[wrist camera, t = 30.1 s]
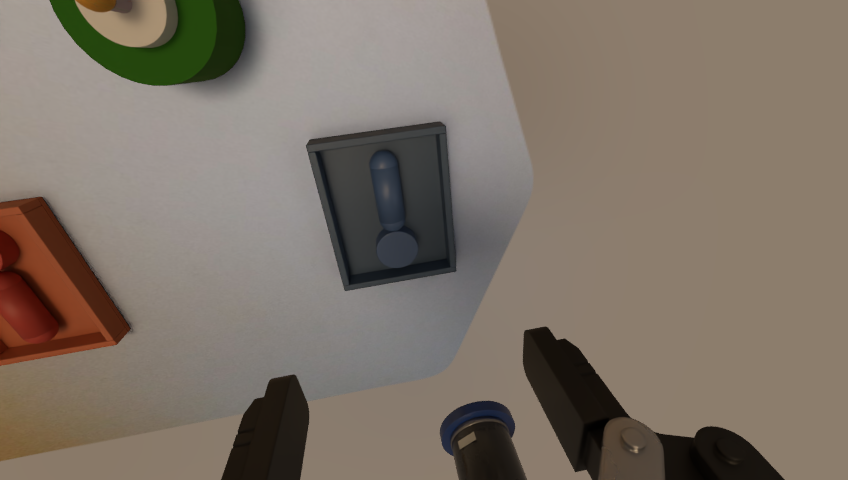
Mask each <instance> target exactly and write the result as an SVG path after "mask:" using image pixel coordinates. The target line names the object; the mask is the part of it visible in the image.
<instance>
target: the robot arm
mask: <svg viewBox="0 0 848 480" xmlns="http://www.w3.org/2000/svg"><path fill="white" fill-rule="evenodd" d="M523 346H524V347H523V365H524V370H525V373H526V376H527V378H528V380H529V382H530V384H531V386H532V388H533V390H534V392H535V394H536V396H537V398H538V400H539V402H540V403H541V406H542V408H543V410H544V412H545V414H546V416H547V418H548V419H549V421H550V423H551V425H552V427H553V429H554V431H555V433H556V435H557V437H558V439H559V441H560V443H561V445H562V447H563V449H564V451H565V453H566V455H567V457H568V459H569V461H570V463H571V465H572V466H573V469H574V471H575V472H578V471H582V470H587V471H588V473H589V474H590V476H591V478H592V480H784V479H783V478H782V476H781V475H780V474H779V473H778V472H777V471H776V470H775V469H774V468H773V467H772V466H771V465H770V464H769V463H768V461H767V460H766V459H765V458H764V457H763V456H762V455H761V454H760V453H759V452H758V451H757V450H756V449H755V448H754V447H753V446H752V445H751V444H750V443H749V442H748V441H746V440H745V439H744V438H742V437H741V436H739V435H737V434H735V433H734V432H731V431H729V430H726V429H723V428H719V427H712V426H711V427H704V428H702V429H700V430H699V431H698V432H697V433H696V435H695V438H691V437H681V436H673V435H665V434H659V433H655V432H653V431H652V430H651V429H650V428H649V427H647V426H646V425H644V424H643V423H641V422H639V421H637V420H634V419H632V418H630V416H629V415H628V414H627V413H626V412H625V410H624V409H623V408H622V406H621V405H620V404H619V402H618V401H617V400H616V398H615V397H614V396H613V395H612V393H611V392H610V390H609V389H608V388H607V386H606V385H605V383H604V382H603V381H602V379H601V378H600V377H599V375H598V374H596V372H595V370H594V369H593V367H592V366H591V365H590V363H588V361H587V359H586V358H585V357H584V355H583V354H582V352H581V351H580V350H579V348H577V347H576V346H574V345H573V344H572V343H570V342H569V341H567V340H566V339H560V340H556V339H555V337H554V336H553V334H552V333H551V331H550V330H549V329H548V328H547V327H540V328H535V329H530V330H525V332H524V345H523ZM308 425H309V408H308V404H307V401H306V398H305V396H304V394H303V391H302V389H301V386H300V384H299V381H298V379H297V377H296V375H288V376H283V377H278V378H273V379H271V380H270V381H269V383H268V386H267V389H266V393H265V396H264V397H263V398H257V399H255V400H254V401H253V402H252V404H251V405H250V406H249V408H248V409H247V411H246V412H245V413H244V415H243V418H242V421H241V424H240V427H239V429H238V434H237V435H236V438H235V441H234V444H233V449H232V450H231V453H230V456H229V458H228V461H227V464H226V467H225V470H224V473H223V476H222V479H221V480H300V477H301V470H302V464H303V457H304V450H305V443H306V438H307V431H308ZM450 445H451V449H452V451H453V455H454V459H455V464H456V469H457V473H458V477H459V480H527V478H526V476H525V473H524V471H523V468H522V465H521V463H520V460H519V458H518V455H517V453H516V450H515V447H514V444H513V442H512V439H511V437H510V434H509V430H508V427H507V425H506V423H505V422H504V421H503V420H502V419H500V418H497V417H494V416H480V417H476V418H472V419H470V420H467V421H465V422H464V423H462V424H461V425H459V426H458V427H457V428H456V429H455V430H454V431H453V433H452V434H451V437H450Z"/></svg>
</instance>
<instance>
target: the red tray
mask: <svg viewBox="0 0 848 480" xmlns="http://www.w3.org/2000/svg"><path fill="white" fill-rule="evenodd" d="M0 230H2V231H3V232H5V233H6V234H8V235H9V236H10V237H11V238H12V239H13V240H14V241H15V242H16V244H17V245H18V248H19V252H20V253H19V258H18V259H17V261H16V262H14V263H13V264H11V265H10V266H8V267H6V268H4V269H3V270H1V271H10V272H14V273H16V274H18V275H20V276H21V277H22V278H23V280H24V281H25V282H26V283H27V285H28V286H29V287H30V288H31V290H32V291H33V292H34V293H35V295H36V296H37V297H38V298H39V300H40V301H41V302H42V303H43V305H44V306H45V307H46V309H47V310H48V311H49V312H50V314H51V315H52V316H53V317H54V319H55V320H56V321H57V322H58V324H59V331H58V333H57V334H56V336H55V337H53V338H52V339H51V340H49V341H47V342H44V343H38V344H34V343H28V342H26V341H24V340H23V339H22V338H21V337H20V336H19V335H18V333H17V332H16V331H15V330H14V329H13V328H12V327H11V326H10V324H9V323H8V322H7V321H6V320H5V319H4V318H3V317H2V315H1V314H0V366H1V365H6V364H12V363H18V362H23V361H29V360H34V359H40V358H45V357H51V356H57V355H62V354H68V353H73V352H79V351H84V350H90V349H96V348H101V347H107V346H112V345H117V344H118V343H119V342H120V341H121V339H122V338H123V337H124V336H125V335H126V334H127V333H128V331H129V330H130V327H129V326H128V325H127V323H126V322H125V320H124V319H123V317H122V316H121V314H120V313H119V311H118V310H117V308H116V307H115V305H114V304H113V302H112V301H111V299H110V298H109V296H108V295H107V293H106V292H105V290H104V289H103V287H102V286H101V284H100V283H99V281H98V280H97V279H96V277H95V276H94V274H93V273H92V271H91V270H90V268H89V267H88V265H87V264H86V262H85V261H84V259H83V258H82V256H81V255H80V253H79V252H78V250H77V249H76V247H75V246H74V244H73V243H72V241H71V240H70V238H69V237H68V235H67V234H66V233H65V231H64V230H63V228H62V227H61V225H60V224H59V222H58V221H57V219H56V218H55V216H54V215H53V213H52V212H51V210H50V209H49V207H48V206H47V204H46V203H45V201H44V200H43V198H42V197H36V198H29V199H22V200H15V201H8V202H1V203H0Z"/></svg>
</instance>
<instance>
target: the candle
mask: <svg viewBox="0 0 848 480" xmlns="http://www.w3.org/2000/svg"><path fill="white" fill-rule="evenodd" d="M50 2H51V5H52V7H53V10H54V12H55V14H56V15H57V17H58V19H59V20H60V22H61V24H62V25H63V27H64V29H65V30H66V31H67V32H68V34H69V35H70V36H71V37H72V39H73V40H74V41H75V42H76V44H77V45H78V46H79V47H80V48H81V49H83V50H84V51H85V52H86V53H87V54H88V55H89V56H90V57H91V58H92V59H94V60H95V61H96V62H98V63H99V64H100V65H102V66H103V67H105V68H106V69H108V70H110V71H111V72H113V73H115V74H117V75H119V76H121V77H123V78H126V79H129V80H131V81H134V82H137V83H142V84H147V85H153V86H167V85H175V84H183V83H191V82H199V81H206V80H211V79H215V78H217V77H219V76H221V75H223V74H225V73H226V72H227V71H229V70H230V69H231V68H232V67H233V66H234V65H235V63H236V62H237V61H238V59H239V57H240V55H241V52H242V50H243V46H244V41H245V21H244V16H243V11H242V8H241V5H240V3H239V0H50Z"/></svg>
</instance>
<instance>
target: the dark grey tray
mask: <svg viewBox="0 0 848 480" xmlns="http://www.w3.org/2000/svg"><path fill="white" fill-rule="evenodd" d="M306 148H307V151H308V155H309V159H310V163H311V166H312V170H313V174H314V178H315V181H316V185H317V189H318V193H319V196H320V200H321V204H322V208H323V211H324V215H325V219H326V222H327V226H328V230H329V234H330V237H331V241H332V245H333V249H334V252H335V256H336V260H337V264H338V267H339V271H340V275H341V279H342V282H343V286H344V290H345V291H348V290H354V289H359V288H365V287H371V286H376V285H382V284H388V283H393V282H399V281H405V280H410V279H416V278H422V277H427V276H433V275H439V274H444V273H450V272H456V258H455V245H454V232H453V219H452V205H451V192H450V179H449V166H448V152H447V139H446V126H445V125H444V124H442V123H441V122H433V123H426V124H419V125H412V126H404V127H397V128H390V129H383V130H376V131H369V132H361V133H354V134H347V135H340V136H333V137H326V138H318V139H311V140H309V142H308V143H307V145H306ZM380 150H386V151H389V152H391V153H392V154H393V155H394V156H395V157H396V159H397V163H398V169H399V176H400V183H401V190H402V197H403V204H404V211H405V223H404V225H403V226H406V227H408V228H409V229H410V230H411V231H412V232H413V233H414V235H415V237H416V240H417V244H418V254H417V256H416V258H415V259H414V261H413V262H412V263H410V264H409V265H407V266H405V267H402V268H391V267H388V266H386V265H384V264H383V263H382V262H381V261H380V260H379V259H378V257H377V253H376V239H377V236H378V234H379V233H380V232H381V231H382V230H383V229H384V228H383V227H382V226H381V224H380V221H379V216H378V211H377V206H376V200H375V195H374V189H373V184H372V178H371V173H370V167H369V161H370V158H371V157H372V155H373V154H374V153H376V152H377V151H380Z"/></svg>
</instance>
